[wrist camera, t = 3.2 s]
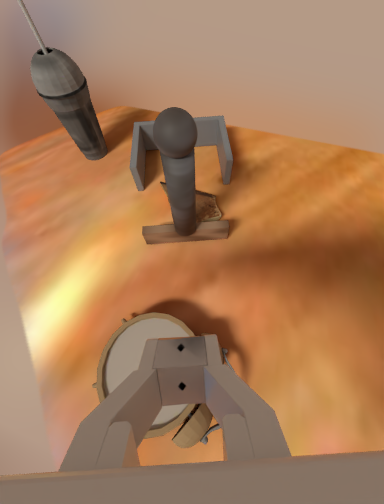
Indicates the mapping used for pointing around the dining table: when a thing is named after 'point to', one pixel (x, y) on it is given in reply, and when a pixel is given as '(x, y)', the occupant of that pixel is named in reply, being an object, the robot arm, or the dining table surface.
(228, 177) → the box
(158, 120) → the ball-topped joystick
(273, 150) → the dining table surface
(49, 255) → the dining table surface
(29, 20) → the beverage cup
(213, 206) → the shard
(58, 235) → the dining table surface
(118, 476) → the robot arm
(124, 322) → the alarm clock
